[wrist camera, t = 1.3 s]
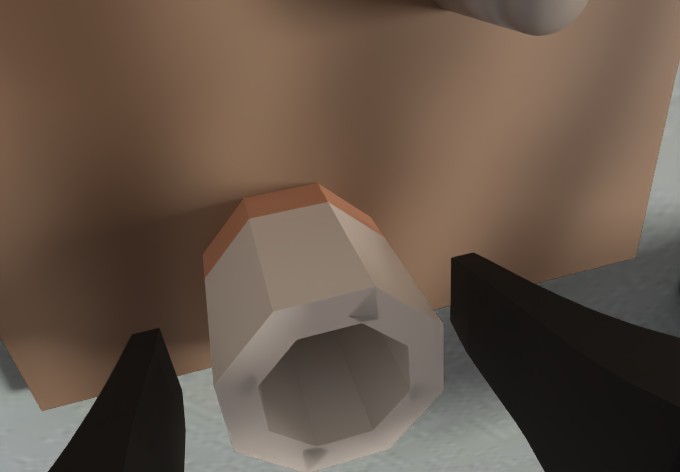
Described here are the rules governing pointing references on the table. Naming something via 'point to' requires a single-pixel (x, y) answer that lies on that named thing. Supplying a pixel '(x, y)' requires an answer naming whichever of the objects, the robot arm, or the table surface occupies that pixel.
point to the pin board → (306, 149)
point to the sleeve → (316, 332)
